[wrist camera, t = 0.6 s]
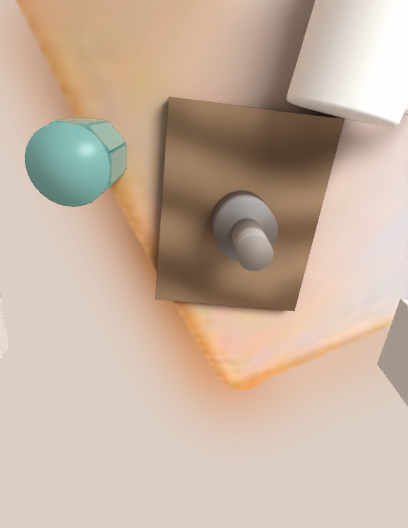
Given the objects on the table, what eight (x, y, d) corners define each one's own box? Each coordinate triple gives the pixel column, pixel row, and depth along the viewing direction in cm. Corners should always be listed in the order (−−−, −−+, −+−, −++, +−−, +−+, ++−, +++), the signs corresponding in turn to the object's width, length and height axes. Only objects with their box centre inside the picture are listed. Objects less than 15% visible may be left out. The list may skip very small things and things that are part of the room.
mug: (274, 100, 28) (303, 99, 21) (319, -54, 24) (373, -120, 17) (408, 136, 30) (477, 146, 23) (470, -4, 26) (579, -46, 19)
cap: (59, 114, 28) (21, 117, 22) (127, 122, 29) (108, 128, 22) (63, 181, 30) (28, 202, 24) (125, 188, 31) (108, 210, 24)
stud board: (169, 97, 28) (159, 93, 19) (338, 118, 29) (401, 124, 20) (156, 293, 35) (144, 354, 27) (291, 304, 36) (322, 367, 28)
